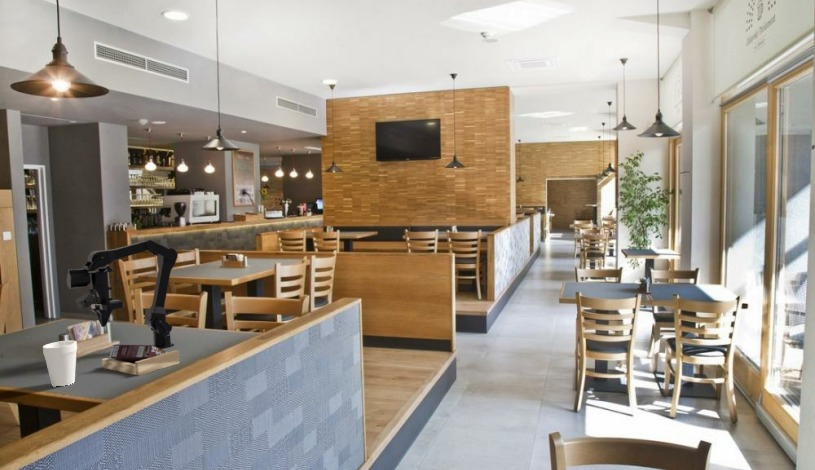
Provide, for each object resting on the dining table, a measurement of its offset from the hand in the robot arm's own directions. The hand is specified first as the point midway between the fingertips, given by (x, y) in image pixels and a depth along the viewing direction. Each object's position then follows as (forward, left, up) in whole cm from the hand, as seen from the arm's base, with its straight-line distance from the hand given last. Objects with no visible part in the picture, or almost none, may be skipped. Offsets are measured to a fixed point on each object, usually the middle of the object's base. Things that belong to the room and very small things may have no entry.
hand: (103, 326), depth 213 cm
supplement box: (+14, -4, -8) cm, 17 cm away
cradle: (+21, 0, -12) cm, 24 cm away
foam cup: (+17, -24, -12) cm, 32 cm away
